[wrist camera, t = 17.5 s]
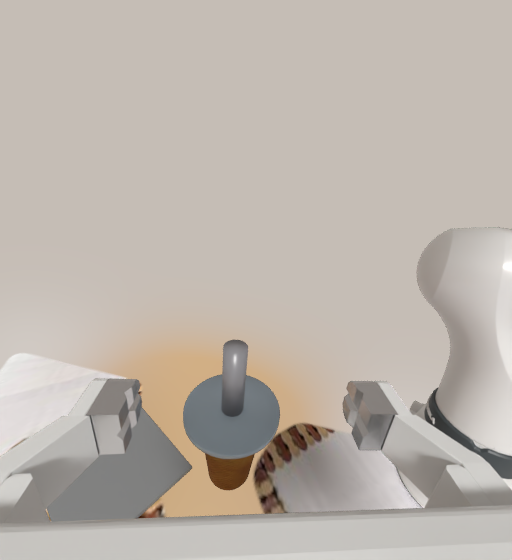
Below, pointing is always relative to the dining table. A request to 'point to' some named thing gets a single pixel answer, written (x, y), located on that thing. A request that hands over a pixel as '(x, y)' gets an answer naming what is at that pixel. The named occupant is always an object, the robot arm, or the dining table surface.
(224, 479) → the disposable coffee cup
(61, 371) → the dining table surface
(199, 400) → the lid
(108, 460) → the mat
